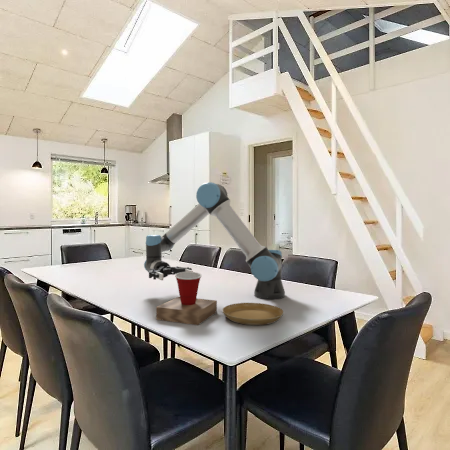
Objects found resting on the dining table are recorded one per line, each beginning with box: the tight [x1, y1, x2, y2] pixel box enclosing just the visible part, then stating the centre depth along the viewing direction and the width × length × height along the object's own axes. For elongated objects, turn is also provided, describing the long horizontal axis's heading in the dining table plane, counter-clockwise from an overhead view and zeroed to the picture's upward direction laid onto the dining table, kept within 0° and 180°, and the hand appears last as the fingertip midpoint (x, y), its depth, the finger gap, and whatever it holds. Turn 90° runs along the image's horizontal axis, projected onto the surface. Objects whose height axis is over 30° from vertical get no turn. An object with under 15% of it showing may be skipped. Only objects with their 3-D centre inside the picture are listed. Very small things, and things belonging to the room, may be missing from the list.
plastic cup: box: [174, 271, 202, 305], centre depth 147 cm, size 11×11×12 cm
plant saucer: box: [222, 302, 284, 326], centre depth 146 cm, size 24×24×3 cm
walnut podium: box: [155, 296, 218, 326], centre depth 148 cm, size 18×18×5 cm
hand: (177, 275), depth 156 cm, fingers open, 13 cm apart
